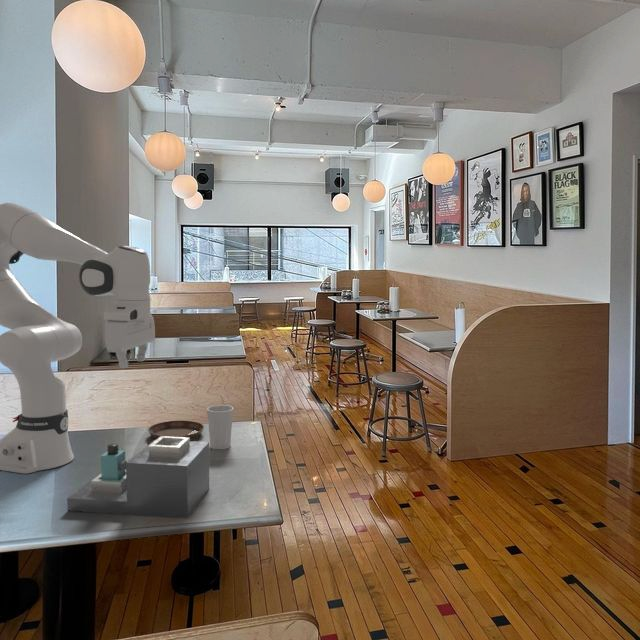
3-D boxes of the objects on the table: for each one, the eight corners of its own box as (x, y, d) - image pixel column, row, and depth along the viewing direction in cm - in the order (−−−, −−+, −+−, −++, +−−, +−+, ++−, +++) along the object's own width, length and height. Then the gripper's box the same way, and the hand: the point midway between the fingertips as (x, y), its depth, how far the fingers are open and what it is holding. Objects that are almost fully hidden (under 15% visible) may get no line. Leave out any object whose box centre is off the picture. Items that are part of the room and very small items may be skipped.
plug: (101, 488, 125) (100, 447, 124) (109, 481, 129) (108, 442, 128) (121, 489, 125) (120, 448, 124) (128, 482, 129) (128, 442, 128)
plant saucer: (202, 426, 185) (202, 418, 185) (205, 443, 168) (205, 433, 168) (149, 430, 180) (149, 421, 180) (147, 447, 163) (147, 438, 163)
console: (67, 511, 120) (65, 449, 119) (102, 482, 136) (101, 427, 134) (187, 518, 118) (187, 454, 116) (209, 488, 133) (208, 432, 132)
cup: (238, 445, 166) (238, 407, 165) (221, 452, 159) (220, 413, 158) (219, 440, 170) (219, 403, 169) (201, 447, 163) (201, 409, 162)
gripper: (138, 306, 145) (139, 356, 147) (99, 313, 125) (100, 371, 126) (161, 307, 144) (161, 357, 146) (125, 314, 124) (125, 372, 126)
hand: (132, 364), depth 136 cm, fingers open, 8 cm apart
